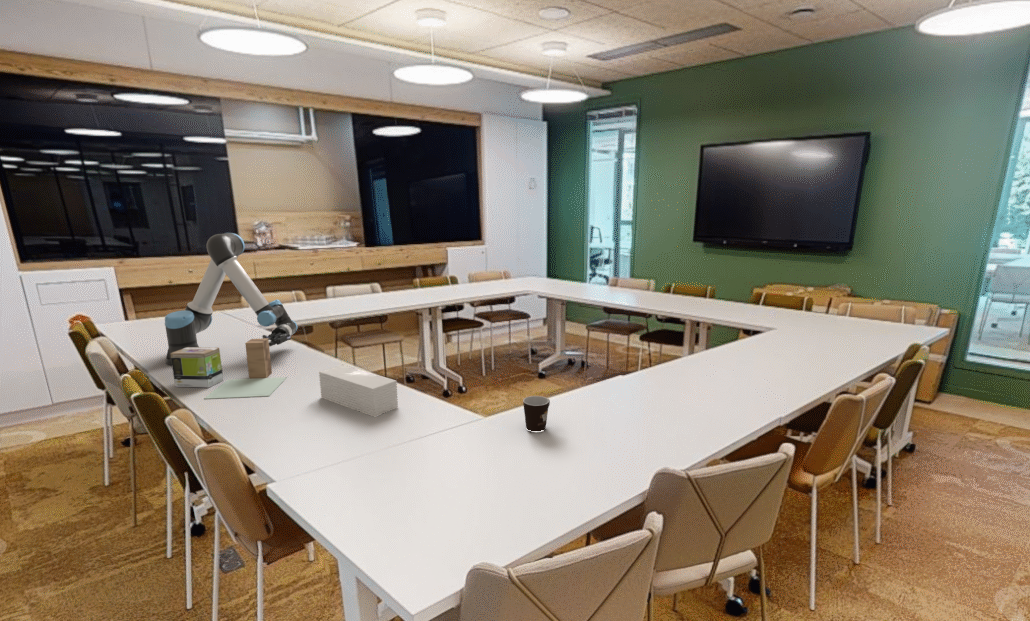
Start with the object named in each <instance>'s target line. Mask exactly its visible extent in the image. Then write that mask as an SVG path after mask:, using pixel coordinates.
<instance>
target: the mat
mask: <svg viewBox="0 0 1030 621" xmlns="http://www.w3.org/2000/svg"><path fill="white" fill-rule="evenodd" d="M287 378H288V377H286V376H285V377H284V376H283V377H282V376H281V377H267V378H255V379H249V378H236V379H235V378H233V379H226V380H225V381H224V382H223V383H222V384H220V385H219V386H218V387H216V389H214V390H213V391H211V392H210V393H209V394H208V395H206V396H205V397H204V398H203V399H204V400H212V399H213V400H214V399H215V400H217V399H237V398H238V399H239V398H262V397H270V396H272V394H274V392H275V391H276V390H277V389H278V388H279V386H281V385H282V384H283V383H284V382H285V380H286V379H287Z"/></svg>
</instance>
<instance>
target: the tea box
mask: <svg viewBox="0 0 1030 621" xmlns="http://www.w3.org/2000/svg"><path fill="white" fill-rule="evenodd" d="M170 354H171V361H172V365H171V366H172V367H171V368H172V374H173V380H174V385H175V387H176V388H180V387H181V388H208V389H209V388H211V387H213V386H215V385H217V384H219V383H221V382H223V381H224V378H223V377H224V374H223V368H222V367H223V366H222V359H221V351H220V347H202V346H201V347H200V346H199V347H186V348H184V349H181V350H178V351H175V352H173V353H170Z"/></svg>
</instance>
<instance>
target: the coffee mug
mask: <svg viewBox="0 0 1030 621" xmlns="http://www.w3.org/2000/svg"><path fill="white" fill-rule="evenodd" d="M522 404H523V413H524V420H525V429H526V428H527V429H528V430H531V431H541V430H544V429H545V428H546V429H547V420H548V412H549V407H550V404H551V402H550V399H549V398H548V397H546V396H542V395H541V396H540V395H529V396H527V397H524V398H523V400H522ZM546 429H545V430H546Z"/></svg>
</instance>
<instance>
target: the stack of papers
mask: <svg viewBox="0 0 1030 621" xmlns="http://www.w3.org/2000/svg"><path fill="white" fill-rule="evenodd" d="M318 377H319V386H320V397H321V398H322V399H323V400H326V401H330V402H332V403H335V404H337V405H341V406H343V407H346V408H348V409H351V410H354V411H357V412H359V411H360V412H359V413H363V414H366V415H367V414H369V415H368V416H370V415H371V416H370V417H373V416H374V417H373V418H376V417H378V416H377V415H379V416H380V414H381V415H383V414H382V413H384V414H386V413H388V412H387V411H389V412H391V411H393V410H392V409H394V408H396V409H398V408H399V404H398V402H399V401H398V400H399V399H398V386H397V385H398V382H397V380H395V379H392V378H390V377H385V376H382V375H378V374H377V373H376V374H375V373H372V372H368V371H366V370H362V369H358V368H355V367H351V366H348V365H344V364H340V365H338V366H334V367H330V368H327V369H324V370H320V371H319V372H318ZM397 407H398V408H397ZM390 410H391V411H390ZM394 410H395V409H394ZM385 412H386V413H385ZM375 416H376V417H375Z"/></svg>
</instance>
